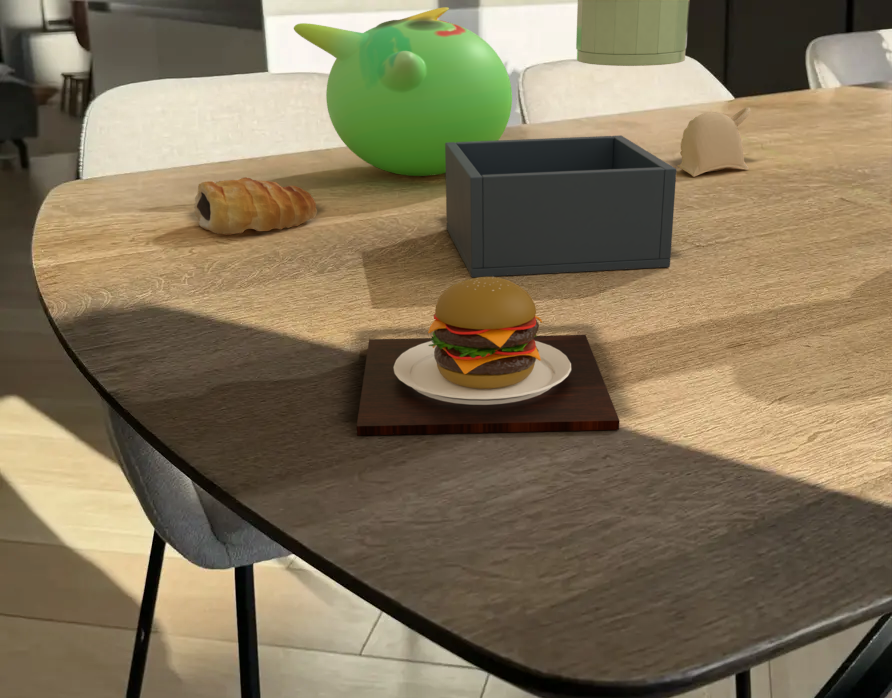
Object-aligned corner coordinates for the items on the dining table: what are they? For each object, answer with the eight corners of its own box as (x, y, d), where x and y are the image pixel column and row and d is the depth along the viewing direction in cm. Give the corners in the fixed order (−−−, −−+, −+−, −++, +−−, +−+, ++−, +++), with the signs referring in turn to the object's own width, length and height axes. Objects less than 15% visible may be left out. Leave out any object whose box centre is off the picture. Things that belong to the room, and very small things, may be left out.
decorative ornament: (665, 170, 106) (668, 112, 104) (734, 161, 109) (739, 105, 107) (691, 177, 102) (695, 117, 100) (763, 168, 106) (768, 110, 104)
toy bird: (545, 172, 106) (548, 6, 100) (416, 202, 95) (411, 18, 89) (415, 151, 118) (411, 1, 111) (287, 175, 107) (275, 11, 101)
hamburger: (369, 347, 62) (364, 250, 60) (585, 342, 62) (588, 245, 60) (357, 435, 51) (350, 320, 49) (618, 429, 51) (625, 314, 49)
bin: (617, 221, 88) (621, 135, 85) (670, 267, 75) (676, 168, 73) (446, 229, 86) (444, 142, 84) (471, 277, 74) (470, 177, 71)
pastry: (300, 209, 93) (296, 163, 92) (330, 227, 88) (327, 178, 86) (190, 224, 89) (184, 176, 88) (215, 243, 84) (209, 192, 82)
